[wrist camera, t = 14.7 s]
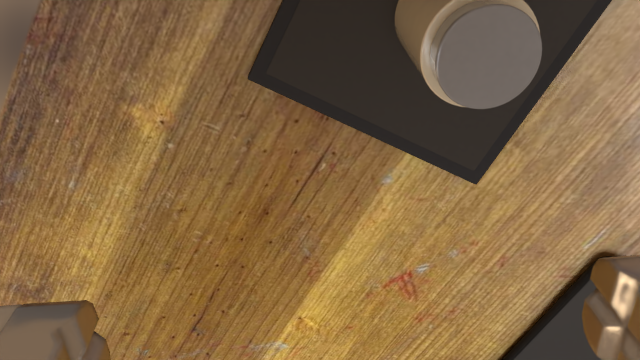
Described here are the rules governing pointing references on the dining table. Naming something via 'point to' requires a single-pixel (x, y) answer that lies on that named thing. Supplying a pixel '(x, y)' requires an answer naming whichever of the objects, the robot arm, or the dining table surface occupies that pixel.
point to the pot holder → (403, 77)
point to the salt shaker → (471, 48)
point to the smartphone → (560, 328)
